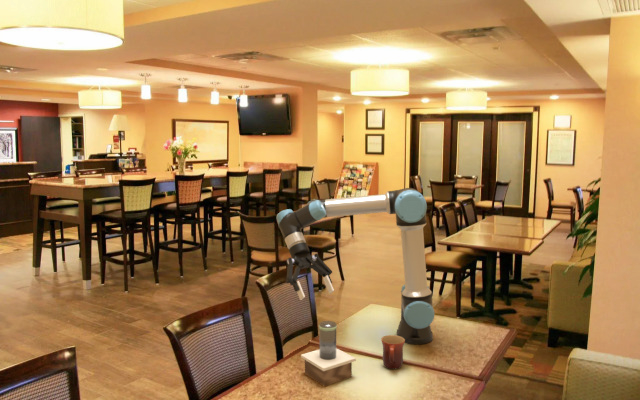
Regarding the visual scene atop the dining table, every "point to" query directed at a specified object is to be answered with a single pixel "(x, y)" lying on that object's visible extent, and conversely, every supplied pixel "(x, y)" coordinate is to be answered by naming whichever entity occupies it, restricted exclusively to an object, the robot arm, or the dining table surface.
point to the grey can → (327, 340)
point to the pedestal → (328, 367)
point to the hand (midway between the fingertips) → (317, 295)
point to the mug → (392, 351)
